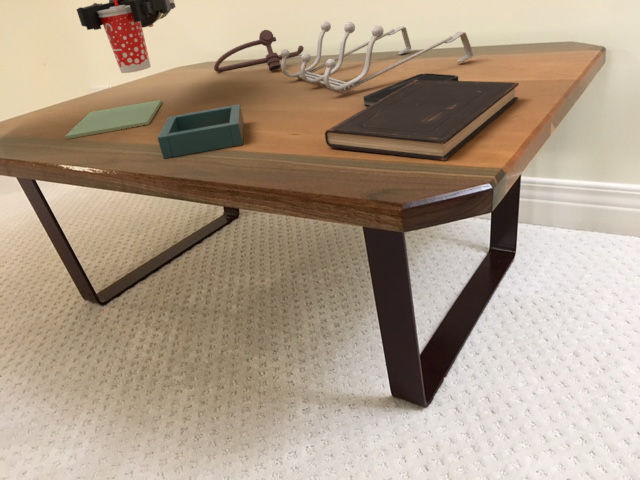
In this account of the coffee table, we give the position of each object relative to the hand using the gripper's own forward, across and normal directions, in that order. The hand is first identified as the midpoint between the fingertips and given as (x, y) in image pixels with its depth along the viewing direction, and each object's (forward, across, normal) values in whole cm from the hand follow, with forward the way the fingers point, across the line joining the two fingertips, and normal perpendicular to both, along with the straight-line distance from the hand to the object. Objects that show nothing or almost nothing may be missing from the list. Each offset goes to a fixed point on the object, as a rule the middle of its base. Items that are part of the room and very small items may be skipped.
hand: (110, 15), depth 76 cm
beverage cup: (-5, 0, -9) cm, 10 cm away
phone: (+2, -42, -18) cm, 46 cm away
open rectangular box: (+7, -10, -18) cm, 22 cm away
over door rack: (-18, -40, -18) cm, 47 cm away
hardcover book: (+17, -40, -18) cm, 47 cm away
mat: (-16, +8, -18) cm, 25 cm away
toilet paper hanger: (-42, -19, -18) cm, 50 cm away
